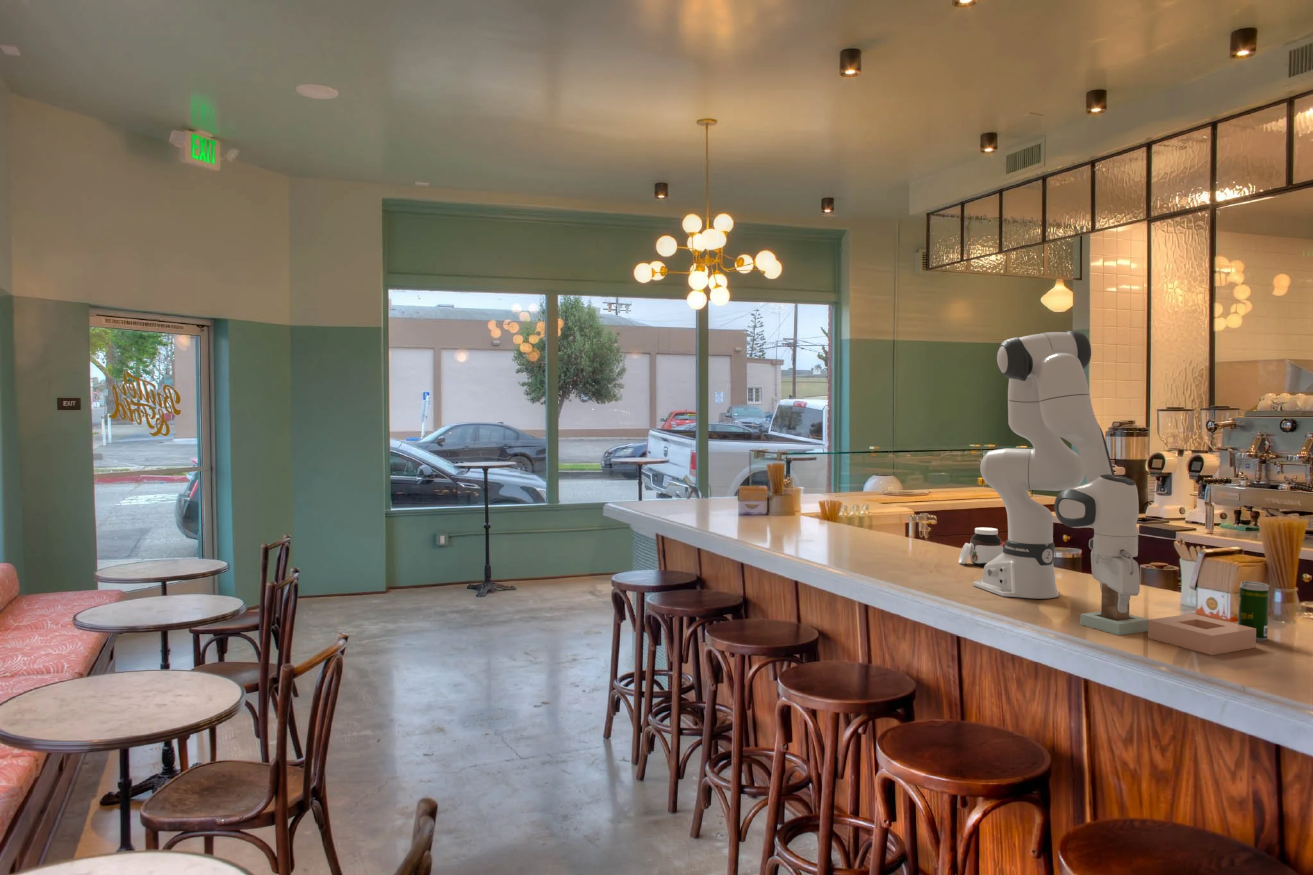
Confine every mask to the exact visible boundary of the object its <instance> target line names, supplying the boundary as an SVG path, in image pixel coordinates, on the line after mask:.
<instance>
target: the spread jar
mask: <svg viewBox="0 0 1313 875" xmlns="http://www.w3.org/2000/svg"><path fill="white" fill-rule="evenodd" d="M998 534H999V530H998V528H995V527H994V528H993V527H983V526H982V527H975V528H974V534H973V535H972V536H971V538H970V541H969V543H968V542H965V543H964V544H963V546H962V549H961V551H960V554H959V556H958V563H959V564H961V565H965V564H966V563H967V561H968V559H970V561H971V564H972V565H974V566H975V567H979V568H984V567H985V565H986V564H987V563H988V562H990V561H991V560H993V559H994V558H996V557H997V556H998V555H1000V554H1001V553H1003V548H1004V546H1000V545H1001V544H1003V543H1000V542H1002V539H1001V538H1000V537H999V535H998Z"/></svg>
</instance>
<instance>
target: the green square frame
mask: <svg viewBox="0 0 1313 875" xmlns="http://www.w3.org/2000/svg"><path fill="white" fill-rule="evenodd" d="M1148 620H1151V619H1148V618H1145V617H1141V616H1137V615H1133V614H1130V613H1129V620H1122V621H1115V620H1111V619H1107V618H1103V617H1101V611H1092V612H1084V613H1080V620H1079V621H1080V625H1081V626H1083V625H1085V626H1084V627H1087V628H1090V627H1091V629H1094V628H1096V629H1095V630H1098V631H1101V630H1102V631H1101V632H1105V633H1108V632H1109V634H1113V635H1116V636H1123V635H1132V634H1137V633H1144V632H1148ZM1080 625H1079V626H1080Z"/></svg>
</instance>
